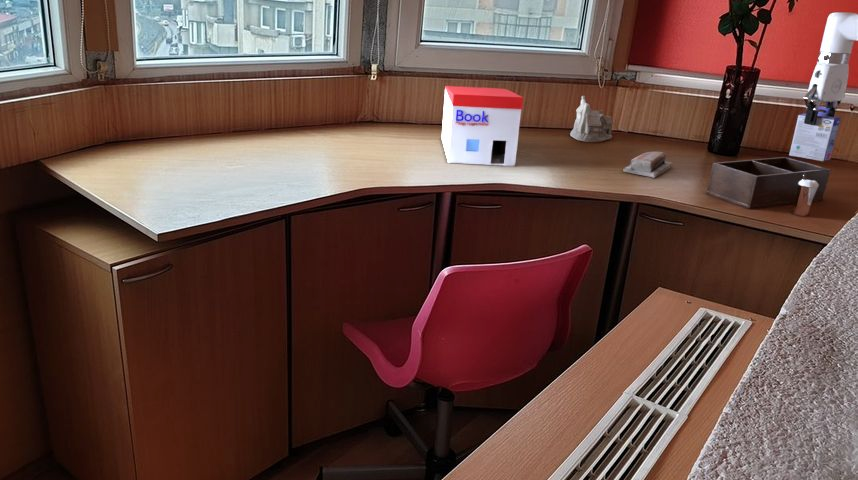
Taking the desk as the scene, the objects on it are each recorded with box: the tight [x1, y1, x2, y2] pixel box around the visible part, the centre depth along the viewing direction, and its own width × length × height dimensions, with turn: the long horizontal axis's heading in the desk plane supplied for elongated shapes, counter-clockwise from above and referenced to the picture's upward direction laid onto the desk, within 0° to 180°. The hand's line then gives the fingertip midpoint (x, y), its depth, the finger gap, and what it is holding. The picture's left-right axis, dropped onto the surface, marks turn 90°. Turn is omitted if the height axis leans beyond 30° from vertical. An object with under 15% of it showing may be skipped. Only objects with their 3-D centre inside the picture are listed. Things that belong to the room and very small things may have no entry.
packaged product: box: [622, 151, 673, 178], centre depth 222 cm, size 18×5×10 cm
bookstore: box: [441, 85, 524, 167], centre depth 232 cm, size 21×35×21 cm, turn 0°
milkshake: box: [792, 174, 819, 217], centre depth 184 cm, size 4×5×10 cm
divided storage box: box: [706, 156, 832, 210], centre depth 198 cm, size 15×28×9 cm, turn 114°
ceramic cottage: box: [569, 95, 613, 143], centre depth 263 cm, size 16×16×15 cm
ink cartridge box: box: [788, 106, 841, 162], centre depth 207 cm, size 10×6×14 cm, turn 42°
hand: (818, 123), depth 206 cm, fingers closed on ink cartridge box, 6 cm apart
